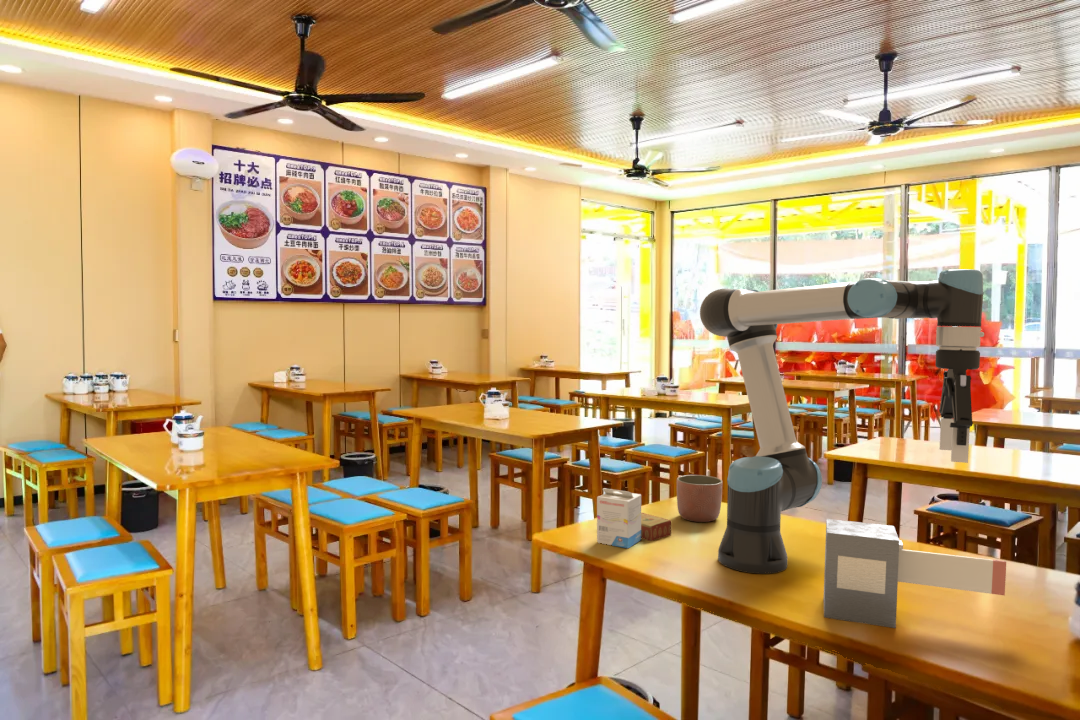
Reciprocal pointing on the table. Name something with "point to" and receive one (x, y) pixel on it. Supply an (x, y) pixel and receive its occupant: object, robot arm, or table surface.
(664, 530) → the carton
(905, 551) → the pink-tipped white stick
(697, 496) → the planter
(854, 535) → the dispenser
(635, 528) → the ink box
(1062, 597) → the table surface
